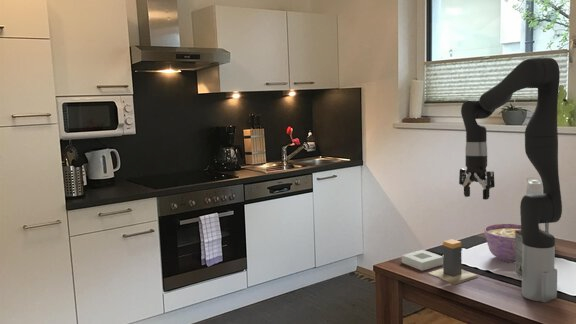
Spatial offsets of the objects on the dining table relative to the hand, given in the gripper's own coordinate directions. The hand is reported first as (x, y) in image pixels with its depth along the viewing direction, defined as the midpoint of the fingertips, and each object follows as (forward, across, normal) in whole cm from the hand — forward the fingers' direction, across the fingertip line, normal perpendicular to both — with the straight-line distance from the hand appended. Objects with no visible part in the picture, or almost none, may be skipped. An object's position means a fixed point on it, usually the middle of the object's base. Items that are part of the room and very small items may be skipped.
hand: (476, 197), depth 187 cm
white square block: (+26, -14, -13) cm, 33 cm away
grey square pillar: (+26, +1, -13) cm, 29 cm away
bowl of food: (+26, +1, +18) cm, 31 cm away
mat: (+27, +1, -13) cm, 30 cm away
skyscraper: (+24, -8, +45) cm, 52 cm away
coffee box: (+27, +16, +9) cm, 33 cm away
